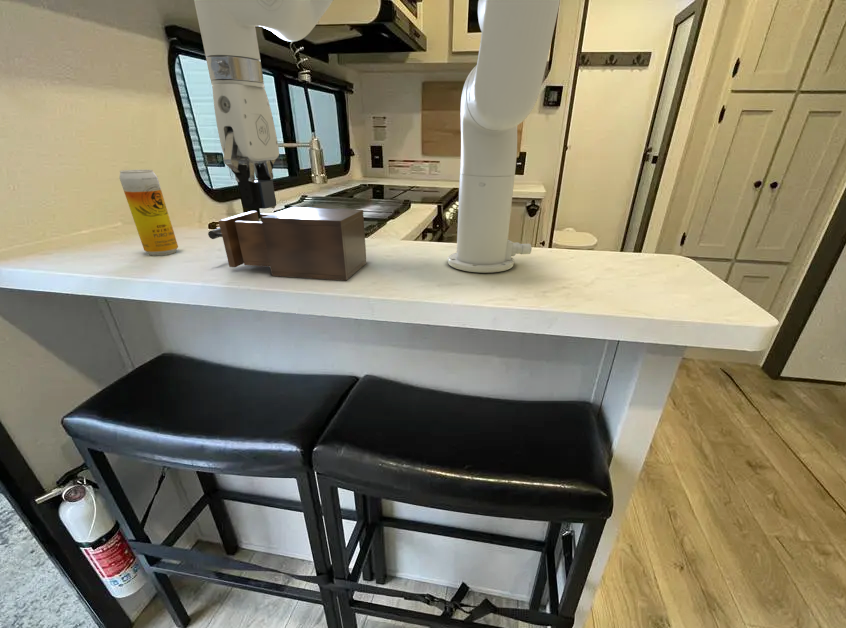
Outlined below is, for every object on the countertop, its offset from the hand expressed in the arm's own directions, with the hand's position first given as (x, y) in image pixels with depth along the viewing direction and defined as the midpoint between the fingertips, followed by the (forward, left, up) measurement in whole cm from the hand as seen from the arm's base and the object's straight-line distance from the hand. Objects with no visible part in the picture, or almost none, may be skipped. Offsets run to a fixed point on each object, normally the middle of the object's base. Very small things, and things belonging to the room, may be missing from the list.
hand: (260, 204), depth 72 cm
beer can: (+23, -14, -11) cm, 29 cm away
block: (0, 0, 0) cm, 0 cm away
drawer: (+1, 0, -10) cm, 10 cm away
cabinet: (-9, +4, -11) cm, 15 cm away
